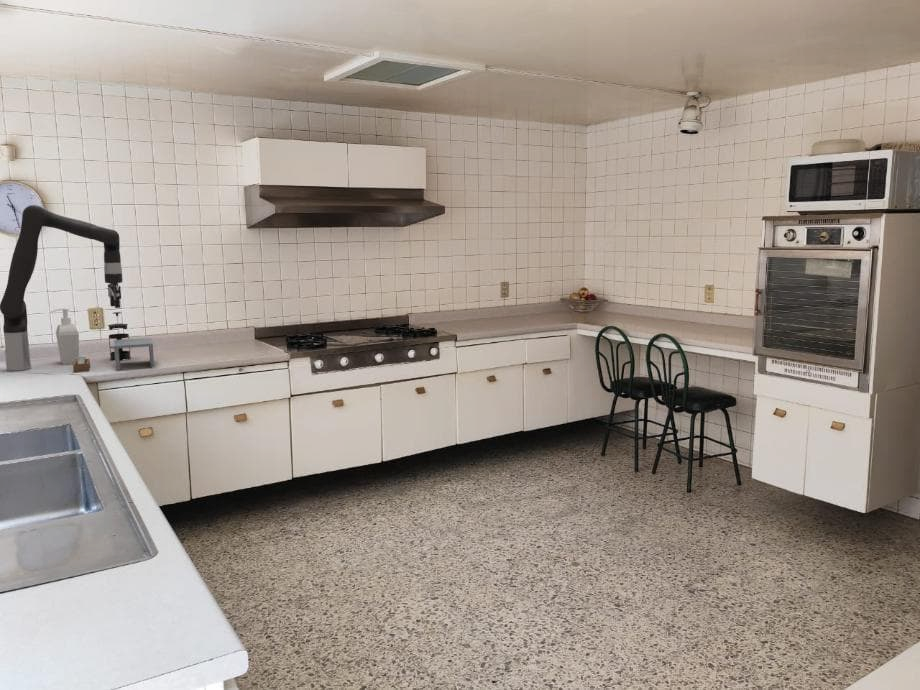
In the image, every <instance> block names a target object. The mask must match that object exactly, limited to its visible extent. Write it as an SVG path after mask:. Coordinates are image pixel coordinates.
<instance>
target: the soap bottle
mask: <svg viewBox="0 0 920 690" xmlns="http://www.w3.org/2000/svg"><path fill="white" fill-rule="evenodd" d="M59 311H62V317H61V318H60V323H61V324H58V325H57V327H56V330H55V335H56V341H57V347H58V353H59V358H60V363H61V364H62V365H70V364H71V365H72V363H73V364H74V361H75V360H78V357H80V348H79V347H80V334H79V331H78V329H77V326H76V325H75V324H74V323H72V320H71V317H69V314H68V312H71V311H72V310H70V308H69V309H68V308H56V309H53V310H51V311H50V312H51V313H52V314H53V313H55V312H59Z"/></svg>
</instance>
